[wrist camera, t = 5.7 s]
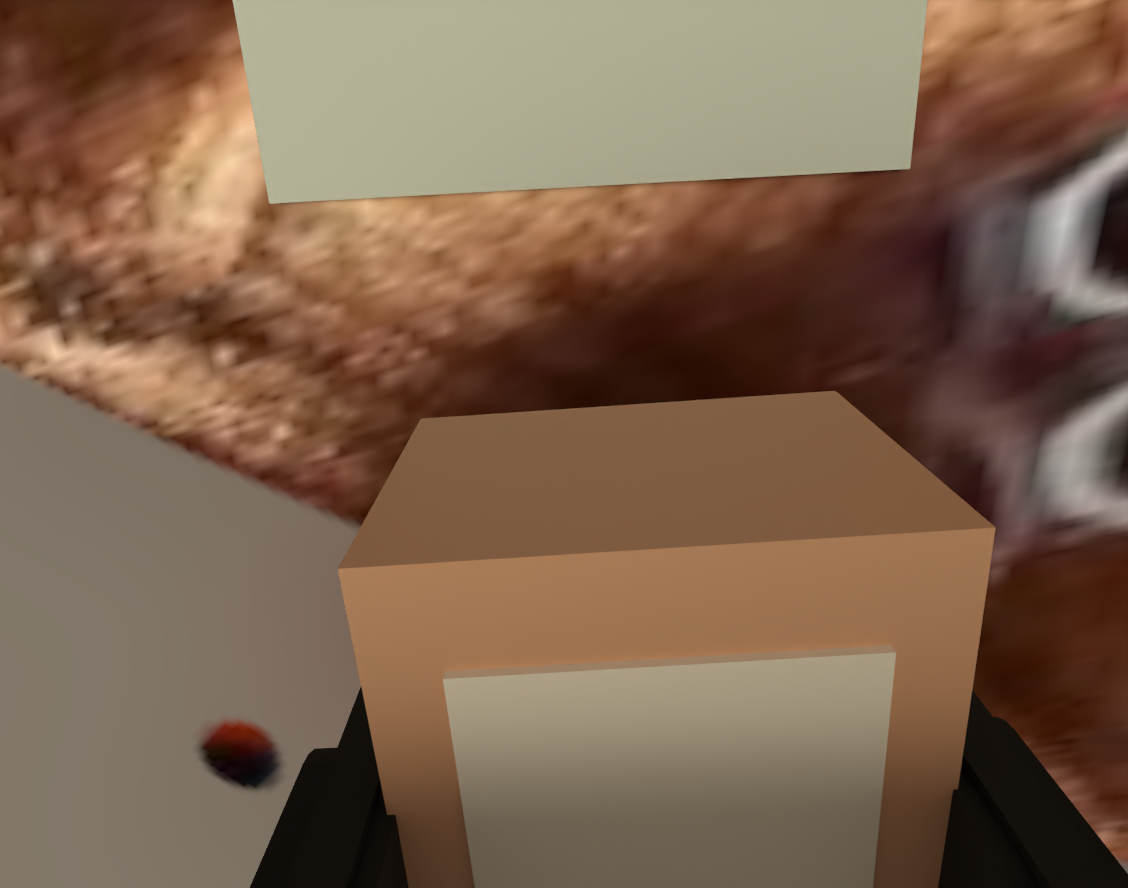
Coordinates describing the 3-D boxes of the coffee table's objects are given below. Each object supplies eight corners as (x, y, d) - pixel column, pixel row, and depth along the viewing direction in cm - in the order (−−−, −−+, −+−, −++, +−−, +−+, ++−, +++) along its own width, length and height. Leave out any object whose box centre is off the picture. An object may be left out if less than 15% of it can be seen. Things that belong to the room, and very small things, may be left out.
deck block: (807, 879, 12) (907, 1175, 8) (490, 896, 12) (460, 1193, 9) (835, 391, 9) (1002, 533, 6) (420, 419, 9) (334, 574, 6)
